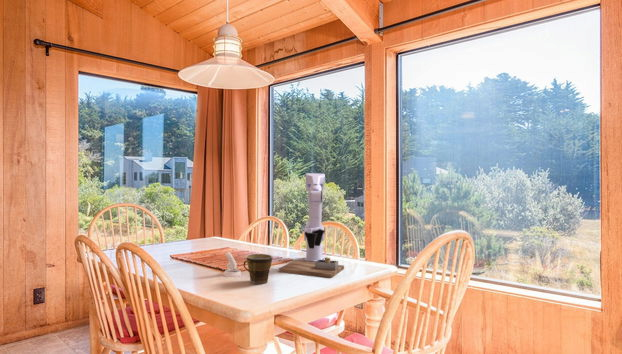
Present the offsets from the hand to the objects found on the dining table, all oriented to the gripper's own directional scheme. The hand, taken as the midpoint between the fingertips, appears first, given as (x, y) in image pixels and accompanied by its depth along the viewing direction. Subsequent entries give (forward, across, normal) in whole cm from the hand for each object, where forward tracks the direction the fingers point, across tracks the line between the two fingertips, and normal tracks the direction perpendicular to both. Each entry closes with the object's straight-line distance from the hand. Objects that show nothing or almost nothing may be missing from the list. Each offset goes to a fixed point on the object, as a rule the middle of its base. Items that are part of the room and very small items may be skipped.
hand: (314, 246), depth 183 cm
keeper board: (+9, +5, +1) cm, 11 cm away
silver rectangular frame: (+8, +5, +8) cm, 12 cm away
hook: (+10, +27, -26) cm, 39 cm away
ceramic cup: (+10, +34, -11) cm, 37 cm away
